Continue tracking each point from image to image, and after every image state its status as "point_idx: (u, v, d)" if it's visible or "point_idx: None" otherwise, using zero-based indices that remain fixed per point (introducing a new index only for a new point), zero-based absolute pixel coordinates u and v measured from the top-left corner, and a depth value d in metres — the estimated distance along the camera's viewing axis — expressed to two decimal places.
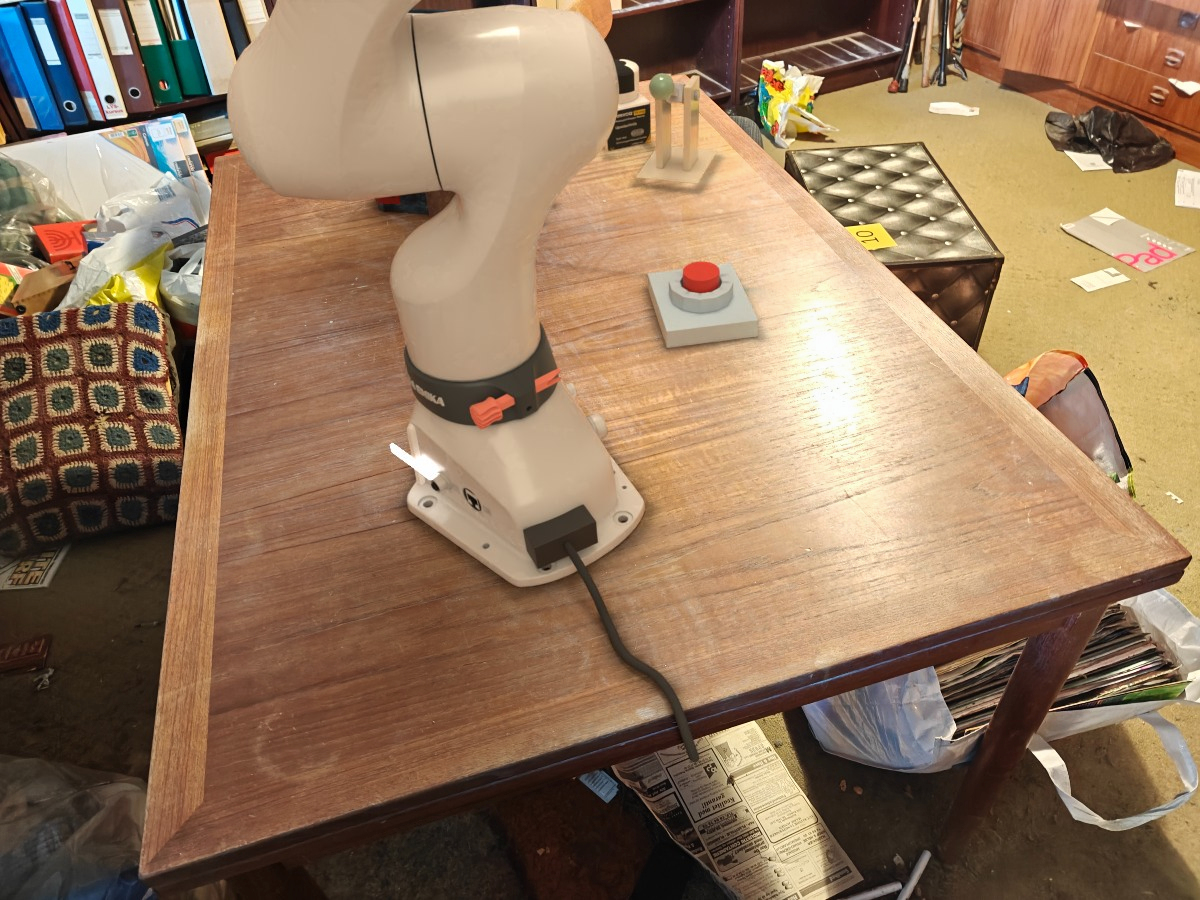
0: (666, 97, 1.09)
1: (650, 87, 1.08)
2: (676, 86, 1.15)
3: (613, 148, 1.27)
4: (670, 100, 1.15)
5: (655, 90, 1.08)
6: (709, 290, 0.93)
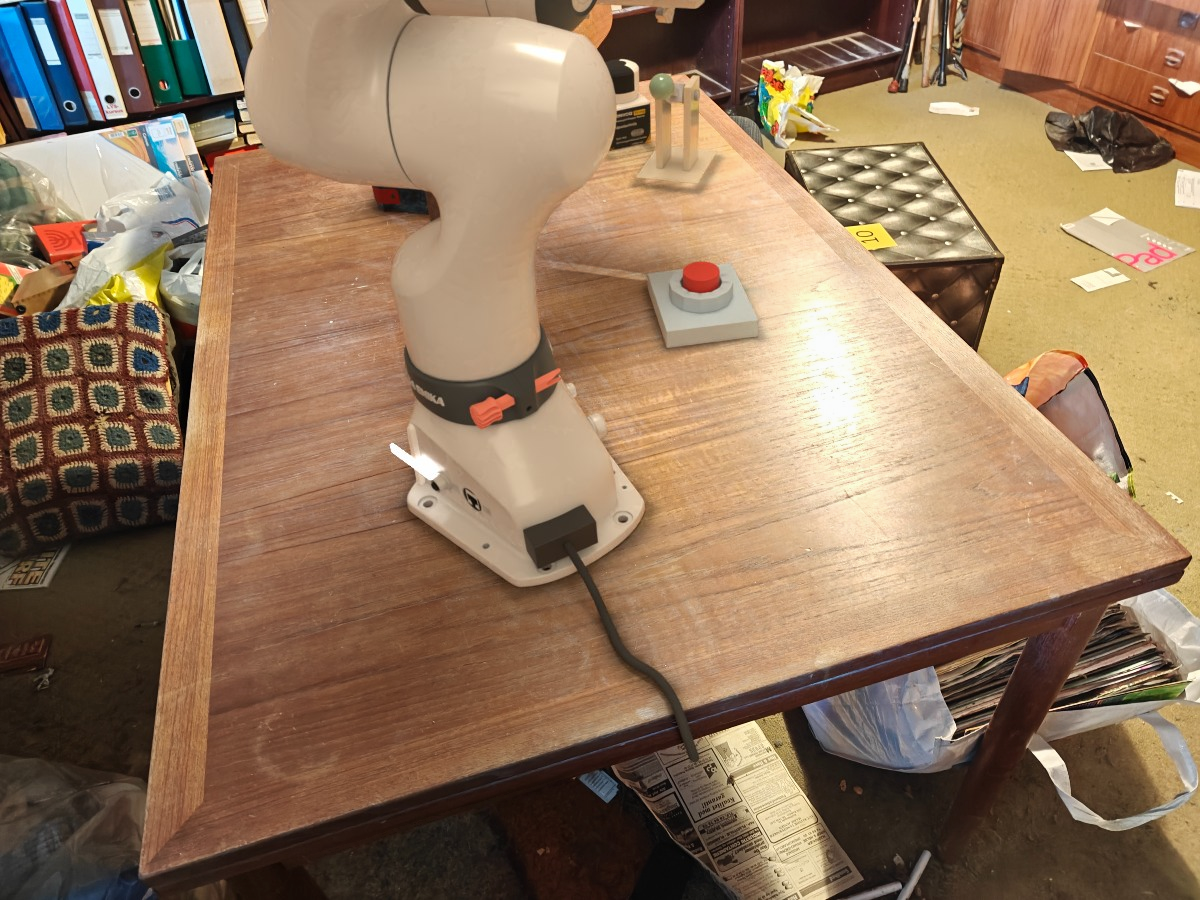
0: (666, 97, 1.09)
1: (650, 87, 1.08)
2: (676, 86, 1.15)
3: (613, 148, 1.27)
4: (670, 100, 1.15)
5: (655, 90, 1.08)
6: (709, 290, 0.93)
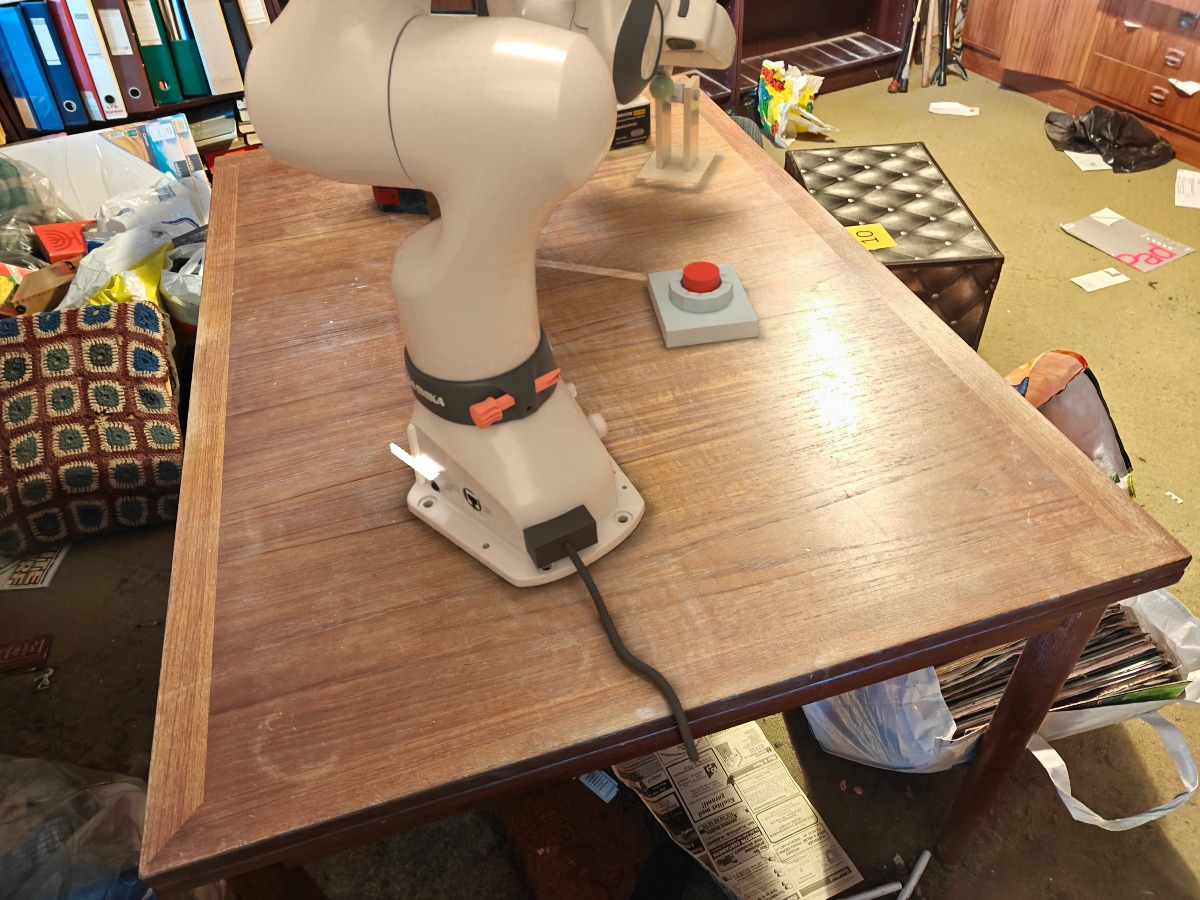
0: (666, 97, 1.09)
1: (650, 87, 1.08)
2: (676, 86, 1.15)
3: (613, 148, 1.27)
4: (670, 100, 1.15)
5: (655, 91, 1.08)
6: (709, 290, 0.93)
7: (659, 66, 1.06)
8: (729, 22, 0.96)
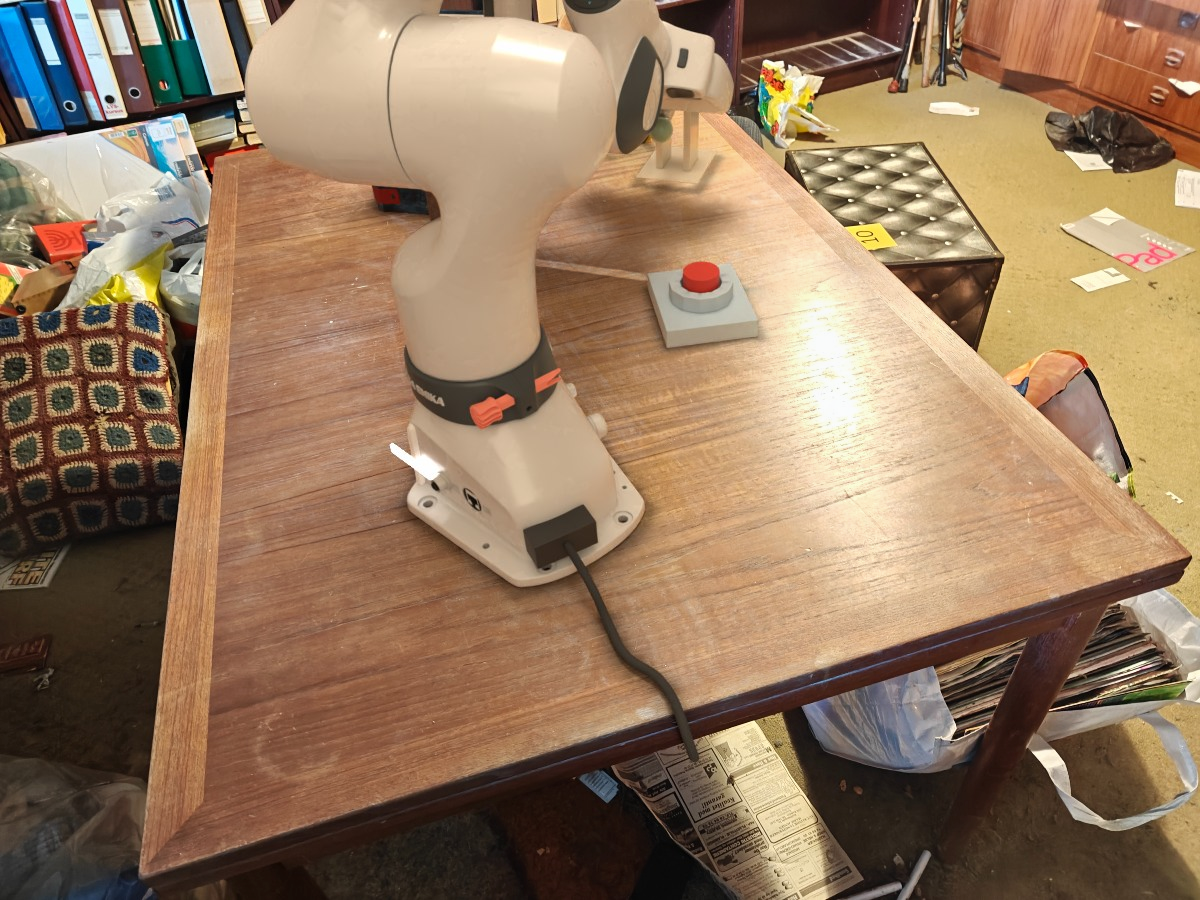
0: (667, 140, 1.13)
1: (650, 135, 1.12)
2: None
3: None
4: None
5: (655, 140, 1.12)
6: (709, 290, 0.93)
7: None
8: (727, 70, 0.99)
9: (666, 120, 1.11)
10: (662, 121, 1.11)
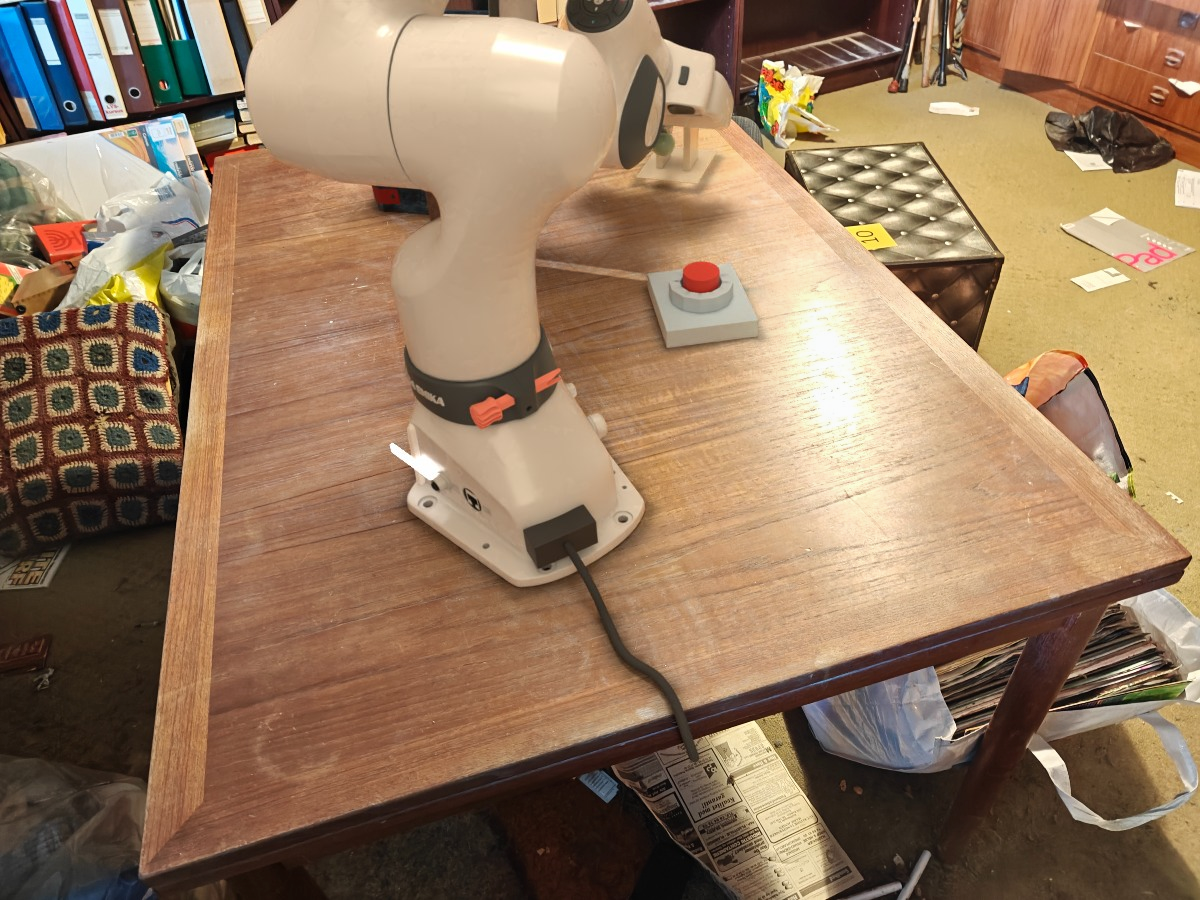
0: None
1: (653, 150, 1.15)
2: None
3: None
4: None
5: (658, 155, 1.15)
6: (709, 290, 0.93)
7: None
8: (727, 87, 1.01)
9: (667, 136, 1.13)
10: (663, 138, 1.13)
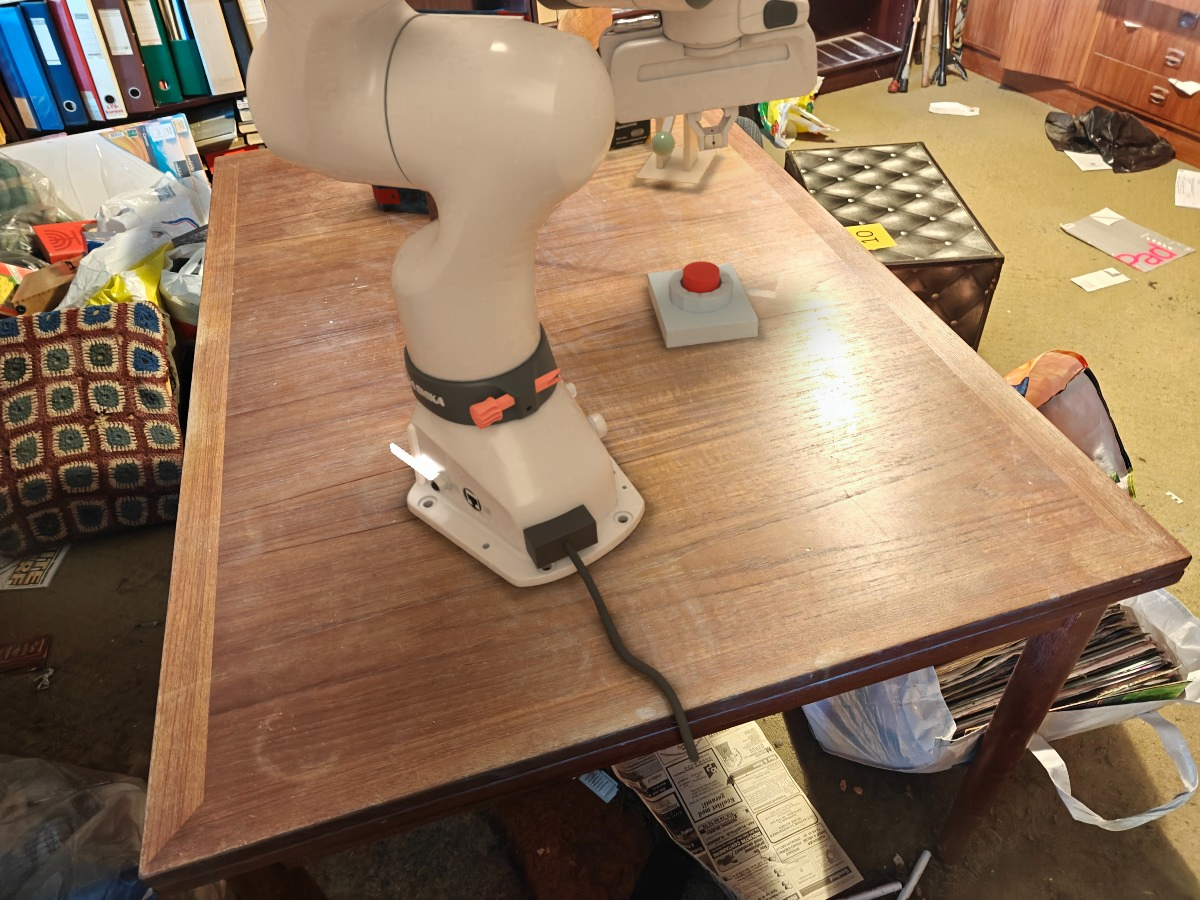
0: None
1: (653, 150, 1.15)
2: None
3: (613, 148, 1.27)
4: None
5: (658, 155, 1.15)
6: (709, 290, 0.93)
7: (714, 132, 0.86)
8: None
9: (667, 136, 1.13)
10: (663, 138, 1.13)
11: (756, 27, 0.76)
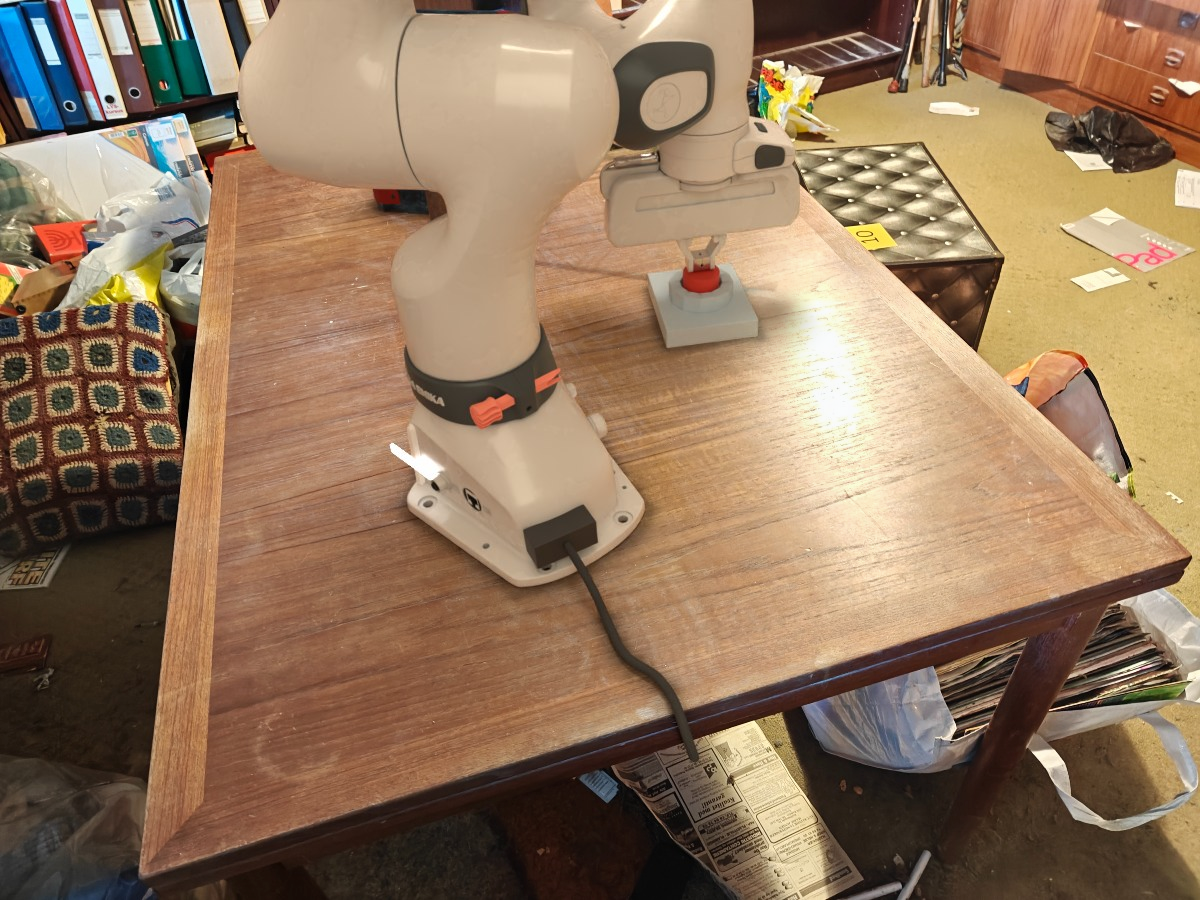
0: None
1: (653, 150, 1.15)
2: None
3: (613, 148, 1.27)
4: None
5: None
6: (709, 290, 0.93)
7: (702, 255, 0.92)
8: None
9: None
10: None
11: (748, 168, 0.82)
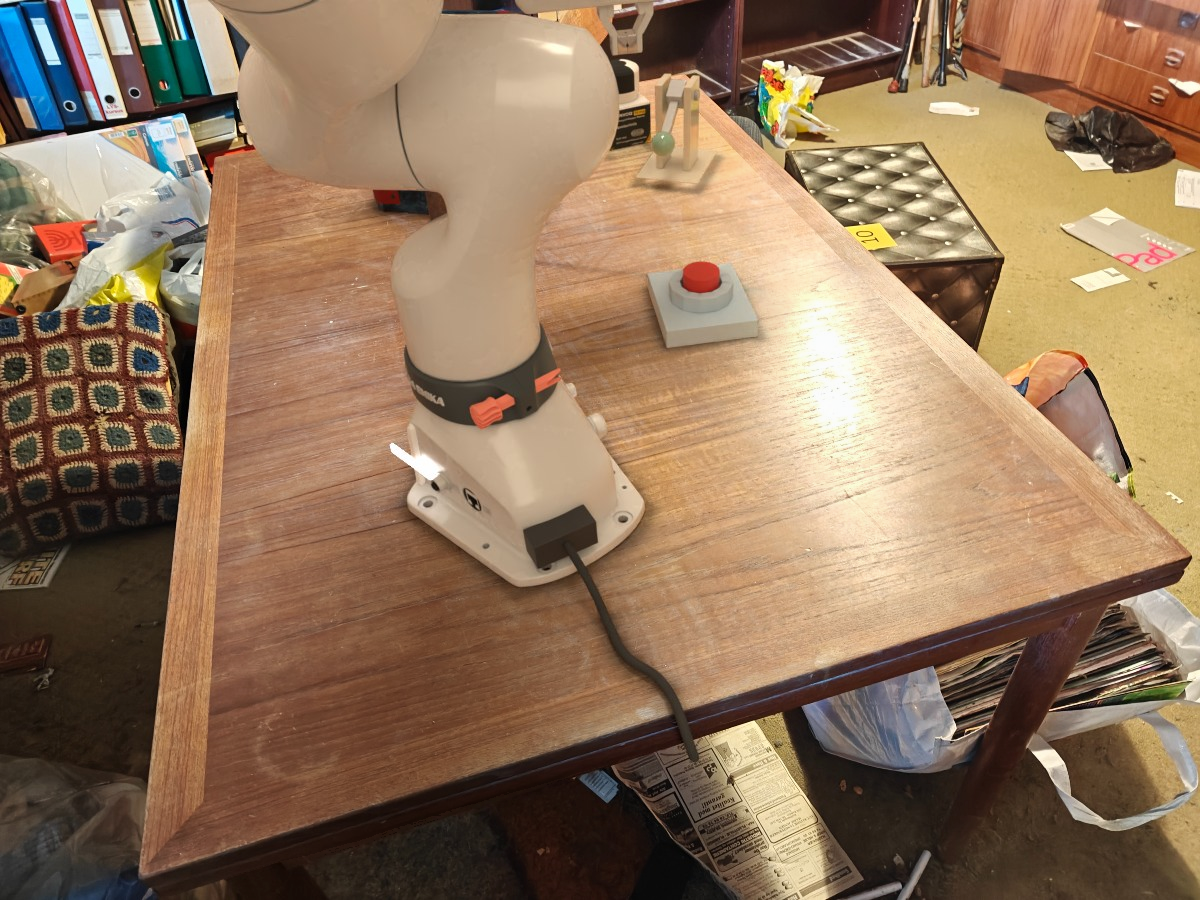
0: None
1: (653, 150, 1.15)
2: (675, 98, 1.15)
3: (613, 148, 1.27)
4: None
5: (658, 155, 1.15)
6: (709, 290, 0.93)
7: (628, 33, 0.81)
8: None
9: (667, 136, 1.13)
10: (663, 138, 1.13)
11: None
